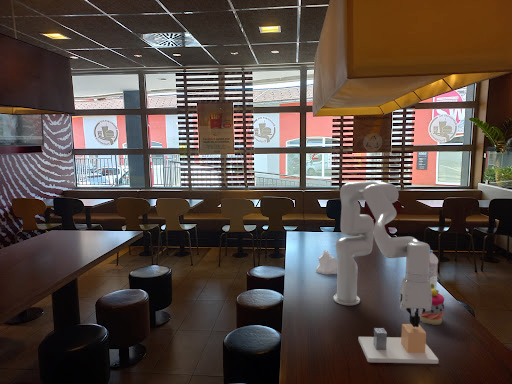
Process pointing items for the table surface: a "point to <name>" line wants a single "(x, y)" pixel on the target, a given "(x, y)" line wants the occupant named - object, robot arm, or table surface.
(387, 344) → the board
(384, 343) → the post
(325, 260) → the soft serve ice cream
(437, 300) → the cake
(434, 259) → the water bottle
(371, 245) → the robot arm
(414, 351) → the block
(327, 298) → the table surface
